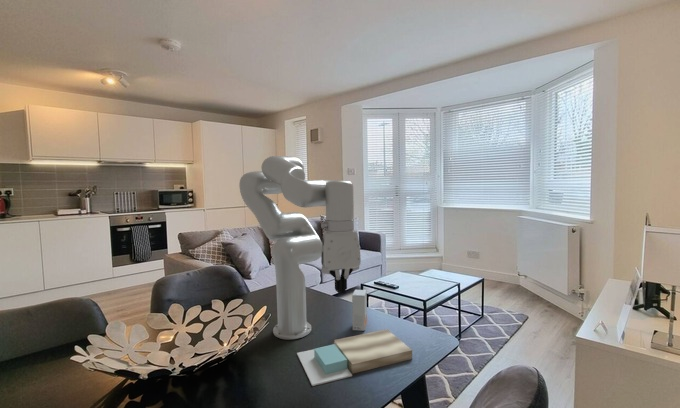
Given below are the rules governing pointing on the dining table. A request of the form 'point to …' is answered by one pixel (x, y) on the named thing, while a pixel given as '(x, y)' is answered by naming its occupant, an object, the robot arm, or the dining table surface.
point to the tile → (330, 359)
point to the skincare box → (359, 310)
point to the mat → (319, 369)
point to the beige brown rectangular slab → (372, 350)
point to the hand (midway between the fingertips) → (340, 292)
